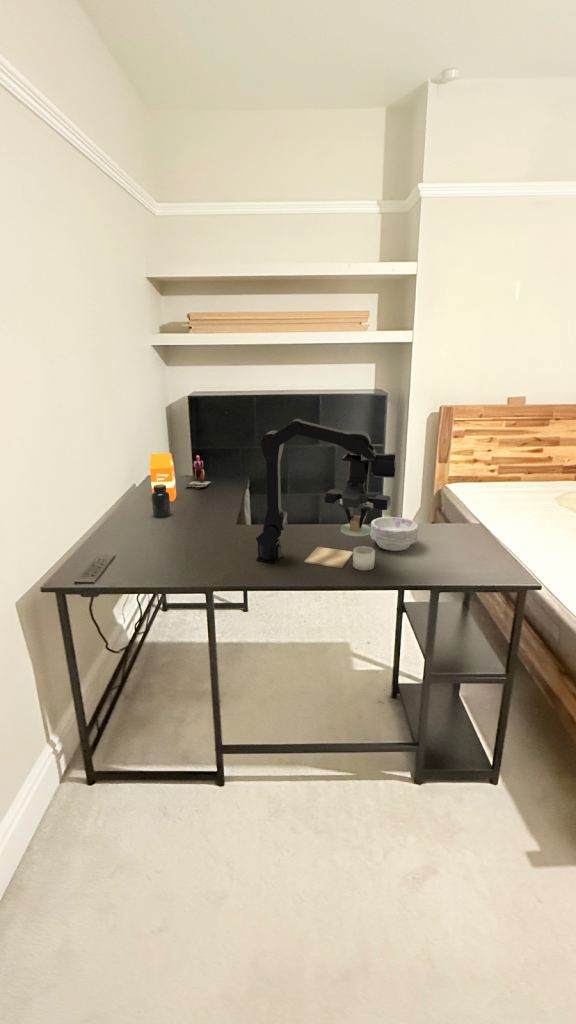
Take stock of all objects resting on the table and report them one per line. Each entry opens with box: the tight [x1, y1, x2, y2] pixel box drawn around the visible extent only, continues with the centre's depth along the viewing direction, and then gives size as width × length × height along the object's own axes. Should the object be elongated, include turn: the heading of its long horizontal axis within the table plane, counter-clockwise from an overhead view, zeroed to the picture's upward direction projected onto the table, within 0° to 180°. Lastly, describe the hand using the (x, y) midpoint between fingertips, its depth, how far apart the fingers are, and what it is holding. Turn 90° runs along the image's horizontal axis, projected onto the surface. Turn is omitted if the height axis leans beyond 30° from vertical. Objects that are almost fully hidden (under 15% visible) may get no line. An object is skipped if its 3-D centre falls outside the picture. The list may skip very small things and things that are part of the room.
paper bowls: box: [369, 516, 419, 552], centre depth 172 cm, size 15×15×8 cm
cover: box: [340, 514, 371, 538], centre depth 156 cm, size 9×9×4 cm
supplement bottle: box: [151, 484, 172, 519], centre depth 205 cm, size 7×7×12 cm
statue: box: [185, 455, 211, 490], centre depth 244 cm, size 11×9×15 cm
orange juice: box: [149, 452, 177, 502], centre depth 224 cm, size 8×9×20 cm
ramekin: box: [352, 545, 376, 571], centre depth 158 cm, size 6×6×5 cm
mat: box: [304, 546, 353, 569], centre depth 164 cm, size 12×12×1 cm
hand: (355, 526), depth 156 cm, fingers closed on cover, 2 cm apart
